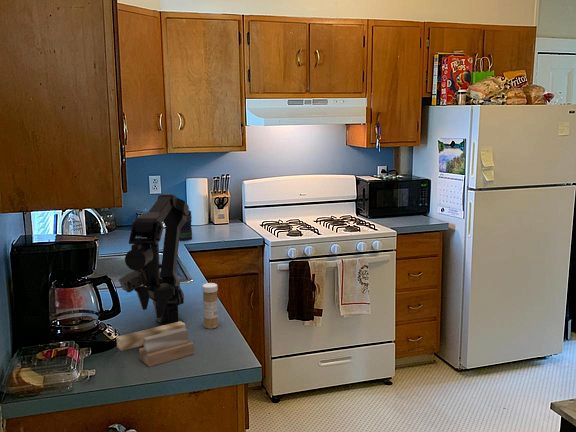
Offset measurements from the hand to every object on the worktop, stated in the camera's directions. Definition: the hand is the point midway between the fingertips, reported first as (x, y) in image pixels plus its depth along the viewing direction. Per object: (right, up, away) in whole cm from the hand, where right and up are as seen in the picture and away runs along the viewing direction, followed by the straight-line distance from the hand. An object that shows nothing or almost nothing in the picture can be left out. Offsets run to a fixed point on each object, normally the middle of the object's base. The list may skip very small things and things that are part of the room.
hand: (151, 313), depth 163 cm
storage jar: (-17, +15, +141) cm, 142 cm away
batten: (0, -8, +1) cm, 8 cm away
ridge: (+7, -10, -10) cm, 15 cm away
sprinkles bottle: (+15, -6, +12) cm, 21 cm away
